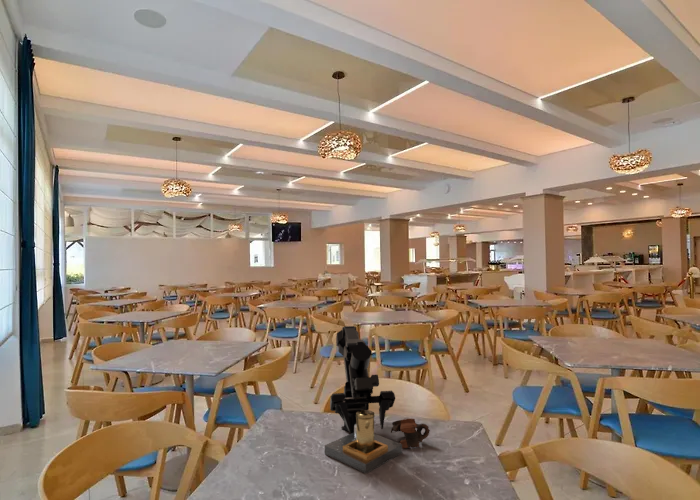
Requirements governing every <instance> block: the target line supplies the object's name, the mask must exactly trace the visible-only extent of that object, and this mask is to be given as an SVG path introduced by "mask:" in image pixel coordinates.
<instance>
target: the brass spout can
mask: <svg viewBox="0 0 700 500" xmlns="http://www.w3.org/2000/svg"><path fill="white" fill-rule="evenodd" d="M356 426H357V450H358V451H361V452H363V453H365V454H367V453H369V452H371V451H373V450H374V434H375V412H374V411H372V410H361V411H358V412H356Z"/></svg>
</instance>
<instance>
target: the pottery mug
mask: <svg viewBox="0 0 700 500" xmlns="http://www.w3.org/2000/svg"><path fill="white" fill-rule="evenodd" d="M391 424H392V427H391V430H390V433H393V432H397V433H398V432H401V433H403V435H404V437H405V439H402V440H399V443H400V444H402V450H403V449H410V448H420V443H423V440H425V439H427V438H428V437H429V434H430V431H431V430H430V429H429V426H428V425H427V424H426V423H419V424H418V423H417V422H416V420H415V418H405V419H404V418H403V419H398V420H395V421H393V422H392V423H391ZM422 430H424V432H423V434H422Z"/></svg>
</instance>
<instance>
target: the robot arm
mask: <svg viewBox="0 0 700 500" xmlns="http://www.w3.org/2000/svg"><path fill="white" fill-rule="evenodd" d="M359 336H360V334H359V332H358V330H357V327H356V326H355V325H348V326H347V325H346V326H342V328H341V330H340V331H338V332H337V333H336V338H335V345H336V347H337V348H338V352H339V354H340V355H342V356H343V363H344V364H343V365H344V372H345V381H346V382H345V383H344V387H343V392H339V393H332V394H331V396H330V399H329V408H330V411H331V412H334V413H335V414H338V415H339V417H340V418H341V419H342V421H343V425H342V426H341V427H340V428H341V429H342V430H344V431H347V432H349V433H350V434H351V433H354V425H355V424H356V412H358V411H361V410H369V409H370V406H369V405H370V404H378V407H379V408H378V415H379V425H380V429H381V430H383V429H384V425H385V417H386V412H387V411H389V410H390V409H391V408H393V406H394V403H395V401H396V394H395V392H394V391H393V390H381V391H380V392H379V395H372V394H374V393H373V392H374V390H373V389H374V388H376V387H379V385H380V379H379V374H371V376H369V370H368V368H369V366H370V361H371V357H372V350H371V348H370V347H369V345H367V344H366V342H365V341H364V340H363V339H360V337H359ZM369 411H370V410H369Z"/></svg>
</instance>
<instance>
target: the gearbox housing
mask: <svg viewBox="0 0 700 500" xmlns="http://www.w3.org/2000/svg"><path fill="white" fill-rule="evenodd" d="M401 454H403V449H402V444H400V442H398V441H394V440H391V439H390V438H387V437H384V436H381V435H379V434H376V433H374V450H373V451H371V452H369V453H367V454H365V453H363V452H361V451H358V450H357V426H356V424H355V425H354V433H351V432H350V434H346V435H345V436H343V437H340V438H338V439H336V440H334V441H331V442H329V443H327V444H325V445H324V455H325V456H328V457H330V458H332V459H334V460H336V461H338V462H340V463H342V464H344V465H346V466H349V467H350V468H353V469H355V470H357V471H359V472H360V473H361V472H362V473H363V474H368V473H369V472H371V471H373V470H375V469H376V468H378V467H380V466H382V465H384V464H385V463H387V462H389V461H391V460H392V459H394V458H396V457H398V456H399V455H401Z"/></svg>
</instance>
